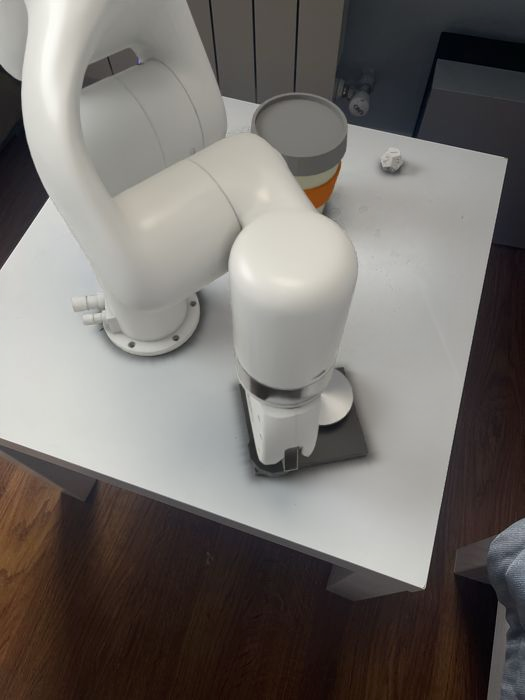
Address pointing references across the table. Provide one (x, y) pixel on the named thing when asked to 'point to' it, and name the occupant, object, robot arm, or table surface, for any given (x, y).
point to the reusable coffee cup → (305, 139)
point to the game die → (391, 159)
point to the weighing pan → (335, 400)
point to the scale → (329, 447)
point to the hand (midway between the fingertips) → (277, 439)
